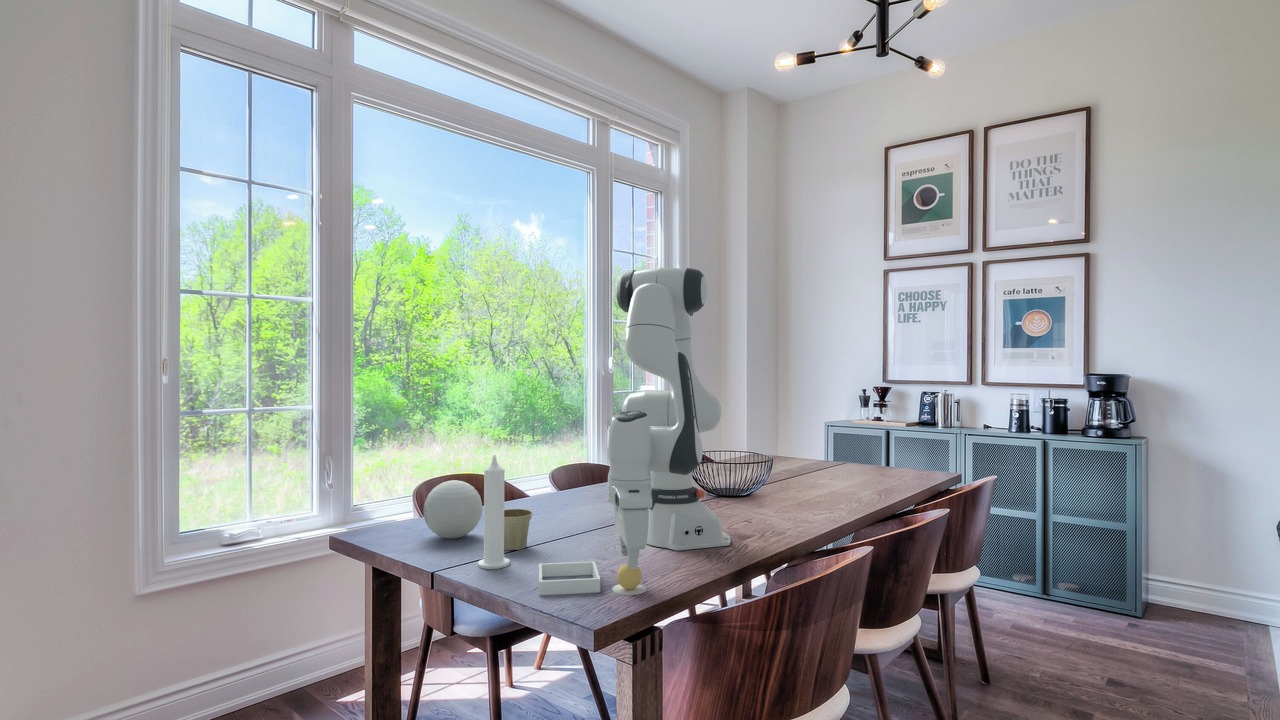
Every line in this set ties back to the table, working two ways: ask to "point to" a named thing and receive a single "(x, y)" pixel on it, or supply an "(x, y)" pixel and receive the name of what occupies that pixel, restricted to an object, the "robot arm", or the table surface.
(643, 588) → the coaster
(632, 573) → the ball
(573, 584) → the shallow white box
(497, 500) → the candle
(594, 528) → the table surface
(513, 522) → the flower pot
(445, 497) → the decorative object
